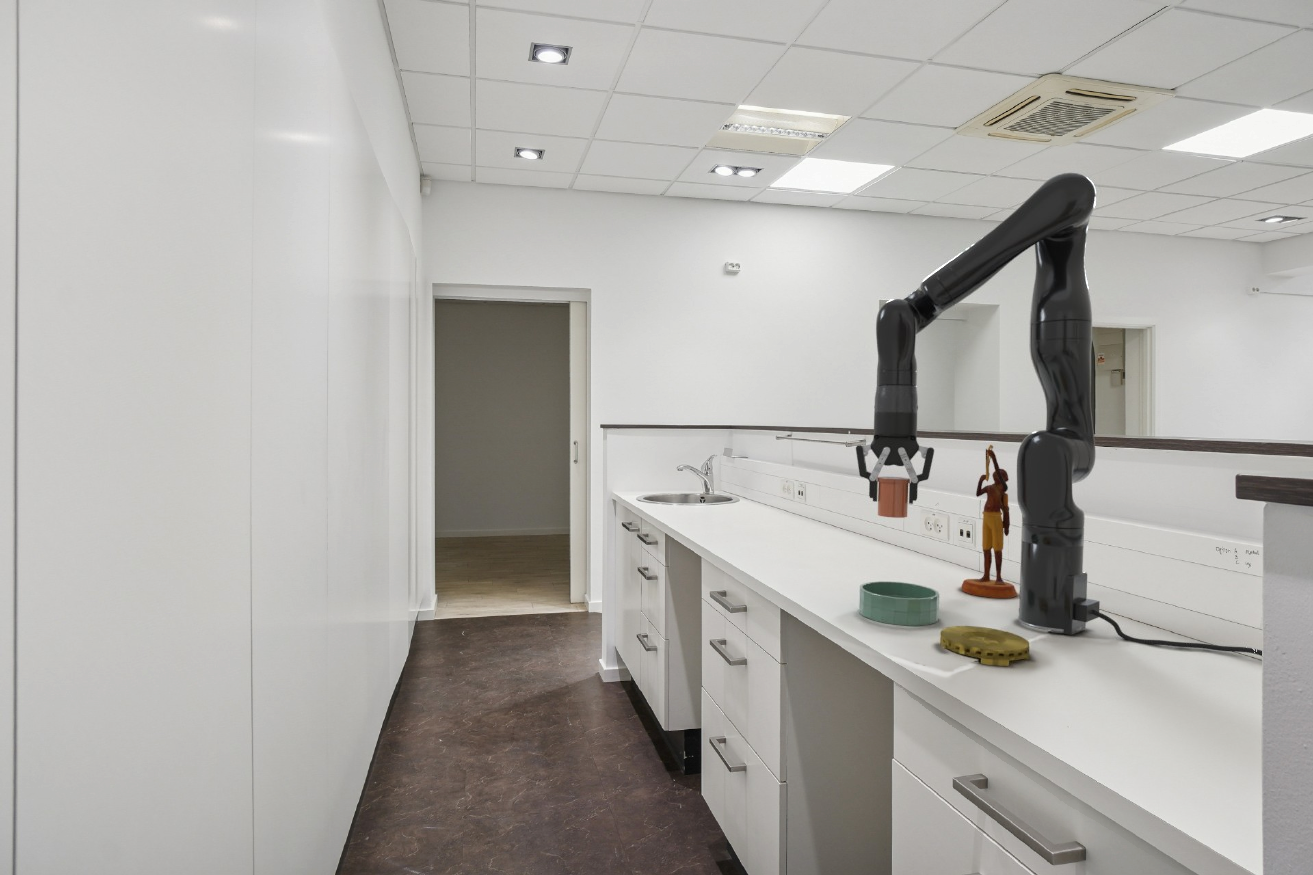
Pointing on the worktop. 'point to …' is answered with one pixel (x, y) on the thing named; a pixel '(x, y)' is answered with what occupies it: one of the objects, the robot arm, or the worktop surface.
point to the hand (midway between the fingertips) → (893, 501)
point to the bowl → (899, 603)
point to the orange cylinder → (893, 496)
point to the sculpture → (992, 533)
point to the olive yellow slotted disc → (985, 644)
